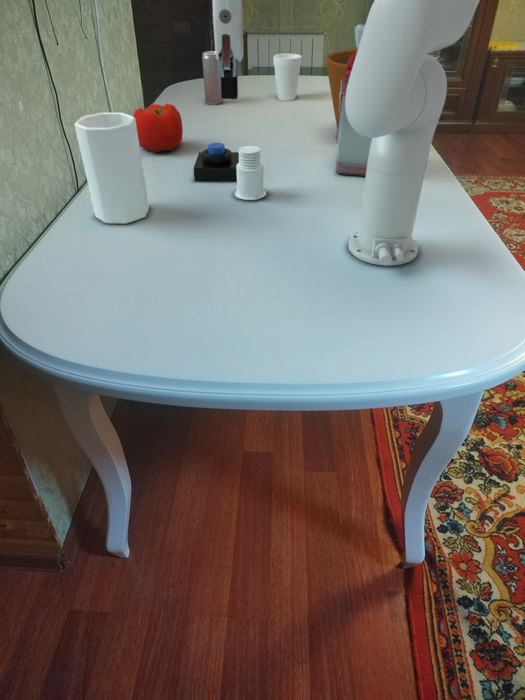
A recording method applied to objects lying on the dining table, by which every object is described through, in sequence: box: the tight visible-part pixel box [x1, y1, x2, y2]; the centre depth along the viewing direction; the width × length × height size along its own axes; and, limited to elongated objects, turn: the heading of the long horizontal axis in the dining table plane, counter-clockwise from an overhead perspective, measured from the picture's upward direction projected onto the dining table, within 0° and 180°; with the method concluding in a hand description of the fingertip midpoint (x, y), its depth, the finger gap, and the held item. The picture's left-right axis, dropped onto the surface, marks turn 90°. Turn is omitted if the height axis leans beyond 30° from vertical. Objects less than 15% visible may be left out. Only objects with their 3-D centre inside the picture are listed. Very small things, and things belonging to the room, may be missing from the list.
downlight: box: [234, 145, 267, 201], centre depth 110 cm, size 8×7×10 cm
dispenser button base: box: [193, 147, 239, 183], centre depth 122 cm, size 11×10×5 cm
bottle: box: [335, 23, 372, 177], centre depth 117 cm, size 14×10×30 cm
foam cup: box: [272, 53, 303, 102], centre depth 174 cm, size 10×9×13 cm
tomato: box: [132, 102, 184, 153], centre depth 134 cm, size 14×13×10 cm
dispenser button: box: [207, 142, 226, 156], centre depth 120 cm, size 4×4×2 cm
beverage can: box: [201, 50, 224, 106], centre depth 169 cm, size 6×6×15 cm
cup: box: [74, 112, 150, 225], centre depth 100 cm, size 11×11×18 cm
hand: (229, 97), depth 102 cm, fingers closed
